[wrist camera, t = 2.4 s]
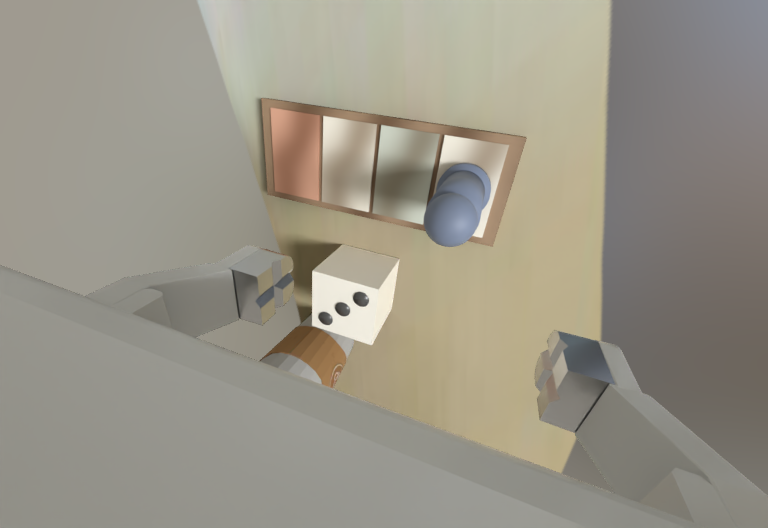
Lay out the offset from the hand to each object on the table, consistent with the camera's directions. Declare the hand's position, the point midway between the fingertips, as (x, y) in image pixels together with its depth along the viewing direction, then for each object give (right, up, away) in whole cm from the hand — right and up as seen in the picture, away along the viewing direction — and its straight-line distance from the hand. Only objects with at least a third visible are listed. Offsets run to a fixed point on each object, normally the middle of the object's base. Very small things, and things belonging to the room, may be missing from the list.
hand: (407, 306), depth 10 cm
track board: (-1, +10, +17) cm, 20 cm away
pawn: (+6, +7, +15) cm, 17 cm away
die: (-2, 0, +23) cm, 23 cm away
